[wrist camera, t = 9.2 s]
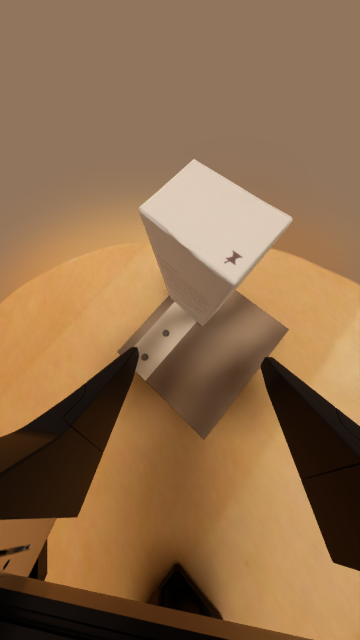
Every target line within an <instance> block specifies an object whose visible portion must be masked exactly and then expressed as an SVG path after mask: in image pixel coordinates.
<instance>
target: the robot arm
mask: <svg viewBox="0 0 360 640" xmlns="http://www.w3.org/2000/svg"><path fill="white" fill-rule="evenodd" d="M138 360H139V351H138V348H137V347H130V348H129V349H128V350H127V351H125V352H124V353H123V354H122V355H120V356H119V357H118V358H117V359H115V360H114V361H113V362H111V363H110V364H109V365H108V366H106V367H105V368H104V369H103V370H101V371H100V372H99V373H98V374H96V375H95V376H94V377H93V378H91V379H90V380H89V381H87V382H86V383H85V384H84V385H82V386H81V387H80V388H79V389H77V390H76V391H75V392H73V393H72V394H71V395H69V396H68V397H67V398H65V399H64V400H62V401H61V402H60V403H58V404H57V405H55V406H54V407H52V408H51V409H49V410H48V411H47V412H45V413H44V414H42V415H41V416H39V417H38V418H37V419H35V420H34V421H32V422H31V423H29V424H28V425H26V426H24V427H22V428H21V429H19V430H17V431H15V432H12V433H10V434H8V435H5V436H2V437H0V640H312V639H307V638H303V637H298V636H293V635H289V634H284V633H280V632H275V631H270V630H266V629H261V628H257V627H252V626H248V625H243V624H238V623H234V622H229V621H225V620H222V618H221V617H220V616H219V614H218V613H217V612H216V611H215V609H214V608H213V607H212V606H211V604H210V603H209V602H208V601H207V599H206V598H205V597H204V596H203V594H202V593H201V592H200V590H199V589H198V588H197V587H196V585H195V584H194V583H193V582H192V580H191V579H190V578H189V577H188V575H187V574H186V573H185V572H184V570H183V569H182V568H181V566H179V565H177V564H176V565H174V566H173V568H172V569H171V571H170V572H169V573H168V575H167V576H166V578H165V579H164V580H163V582H162V583H161V585H160V586H159V587H158V589H157V590H156V591H155V593H154V594H153V596H152V597H151V598H150V600H149V601H148V603H142V602H138V601H133V600H128V599H124V598H119V597H115V596H110V595H105V594H101V593H96V592H92V591H87V590H83V589H78V588H73V587H69V586H64V585H60V584H55V583H50V582H46V581H44V580H45V578H46V575H47V537H48V535H49V533H50V531H51V529H52V527H53V525H54V523H55V521H56V519H57V518H72V517H78V514H79V512H80V510H81V507H82V505H83V502H84V500H85V497H86V495H87V492H88V490H89V487H90V485H91V482H92V480H93V477H94V475H95V472H96V470H97V467H98V465H99V462H100V460H101V457H102V455H103V452H104V450H105V447H106V445H107V442H108V440H109V437H110V435H111V432H112V430H113V427H114V425H115V422H116V420H117V417H118V415H119V412H120V410H121V407H122V405H123V402H124V400H125V397H126V395H127V392H128V390H129V387H130V385H131V382H132V380H133V377H134V374H135V370H136V367H137V363H138ZM261 370H262V374H263V378H264V381H265V385H266V389H267V392H268V394H269V397H270V400H271V402H272V405H273V407H274V410H275V413H276V415H277V418H278V421H279V423H280V426H281V428H282V431H283V434H284V436H285V439H286V442H287V444H288V447H289V449H290V452H291V455H292V457H293V460H294V462H295V465H296V468H297V470H298V473H299V476H300V478H301V481H302V484H303V486H304V489H305V492H306V494H307V497H308V499H309V502H310V505H311V507H312V510H313V513H314V515H315V518H316V520H317V523H318V526H319V528H320V531H321V534H322V536H323V539H324V541H325V544H326V547H327V549H328V552H329V554H330V557H331V559H332V561H333V563H336V564H339V565H342V566H345V567H349V568H352V569H355V570H358V571H360V426H359V425H358V424H356V423H355V422H354V421H352V420H351V419H350V418H349V417H347V416H346V415H345V414H343V413H342V412H341V411H340V410H338V409H337V408H335V407H334V406H333V405H332V404H331V403H329V402H328V401H327V400H326V399H324V398H323V397H322V396H321V395H319V394H318V393H317V392H316V391H314V390H313V389H312V388H311V387H309V386H308V385H307V384H305V383H304V382H303V381H302V380H300V379H299V378H298V377H297V376H295V375H294V374H293V373H292V372H290V371H289V370H288V369H287V368H285V367H284V366H283V365H281V364H280V363H279V362H278V361H276V360H275V359H274V358H272V357H265V358H264V360H263V361H262V363H261Z"/></svg>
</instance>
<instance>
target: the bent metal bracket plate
mask: <svg viewBox="0 0 360 640" xmlns="http://www.w3.org/2000/svg"><path fill="white" fill-rule="evenodd" d="M288 330H289V329H288V328H286V327H285V326H284V325H282V324H281V323H280V322H278V321H277V320H275V319H274V318H273V317H271V316H270V315H269V314H267V313H266V312H265V311H263V310H262V309H261V308H259V307H258V306H256V305H255V304H254V303H252V302H251V301H250V300H248V299H247V298H246V297H244V296H243V295H242V294H240V293H239V292H238V291H236V290H235V291H234V292H233V293H232V295H231V296H230V297H229V298H228V299H227V301H226V302H225V303H224V304H223V305H222V306H221V308H220V309H219V310H218V311H217V312H216V313H215V314H214V315H213V316H212V318H211V319H210V320H209V321H208V322H207V323H206V324H205V325H204V326H201V325H200V324H199V323H198V322H197V321H196V320H195V319H194V318H192V317H191V316H190V315H189V314H188V313H187V312H186V311H185V310H184V309H182V308H181V307H180V306H179V305H178V304H177V303H176V302H175V301H173V300H172V299H171V298H170V295H169V296H168V297H167V298H166V300H165V301H164V302H163V303H162V304H161V305H160V306H159V307H158V308H157V309H156V310H155V312H154V313H153V314H152V315H151V316H150V317H149V318H148V319H147V320H146V321H145V322H144V324H143V325H142V326H141V327H140V328H139V329H138V330H137V331H136V332H135V333H134V334H133V336H132V337H131V338H130V339H129V340H128V341H127V342H126V343H125V344H124V345H123V346H122V348H121V349H120V350H119V351H118V353H119V354H120V355H122V354H123V353H124V352H125V351H127V350H128V349H129V348H130V347H137V348H138V351H139V360H138V363H137V367H136V370H135V371H136V372H137V373H138V374H139V375H140V376H141V377H142V378H143V379H144V380H145V381H146V382H147V383H148V384H149V385H150V386H151V387H152V388H153V389H154V390H155V391H156V392H157V393H158V394H159V395H160V396H161V397H162V398H163V399H164V400H165V401H166V402H167V403H168V404H169V405H170V406H171V407H172V408H173V409H174V410H175V411H176V412H177V413H178V414H179V415H180V416H181V417H182V418H183V419H184V420H185V421H186V422H187V423H188V424H189V425H190V426H191V427H192V428H193V429H194V430H195V431H196V432H197V433H198V434H199V435H200V436H201V437H202V438H203V439H205V438H206V437H207V435H208V434H209V433H210V431H211V430H212V429H213V428H214V426H215V425H216V424H217V422H218V421H219V420H220V418H221V417H222V416H223V415H224V413H225V412H226V411H227V409H228V408H229V407H230V405H231V404H232V403H233V402H234V400H235V399H236V398H237V396H238V395H239V394H240V392H241V391H242V390H243V389H244V387H245V386H246V385H247V383H248V382H249V381H250V379H251V378H252V377H253V376H254V374H255V373H256V372H257V370H258V369H259V368H260V366H261V363H262V361H263V360H264V358H265V357H268V356H269V355H270V353H271V352H272V351H273V350H274V348H275V347H276V346H277V344H278V343H279V342H280V340H281V339H282V338H283V337H284V335H285V334H286V333H287V331H288Z"/></svg>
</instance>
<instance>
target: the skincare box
mask: <svg viewBox="0 0 360 640" xmlns="http://www.w3.org/2000/svg"><path fill="white" fill-rule="evenodd" d="M139 213H140V216H141V218H142V221H143V223H144V226H145V229H146V232H147V235H148V237H149V240H150V243H151V246H152V248H153V251H154V254H155V257H156V259H157V262H158V265H159V268H160V270H161V273H162V276H163V279H164V281H165V284H166V287H167V289H168V292H169V295H170V298H171V299H172V300H173V301H175V302H176V303H177V304H178V305H179V306H180V307H181V308H182V309H184V310H185V311H186V312H187V313H188V314H189V315H190V316H191V317H192V318H194V319H195V320H196V321H197V322H198V323H199V324H200V325H201V326H204V325H205V324H206V323H207V322H208V321H209V320H210V319H211V318H212V316H213V315H214V314H215V313H216V312H217V311H218V310H219V309H220V308H221V306H222V305H223V304H224V303H225V302H226V301H227V299H228V298H229V297H230V296H231V295H232V293H233V292H234V291H235V290H236V289H237V287H238V286H239V285H240V284H241V283H242V282H243V280H244V279H245V278H246V277H247V276H248V274H249V273H250V272H251V271H252V270H253V268H254V267H255V266H256V265H257V264H258V262H259V261H260V260H261V259H262V258H263V256H264V255H265V254H266V253H267V252H268V250H269V249H270V248H271V247H272V246H273V244H274V243H275V242H276V241H277V240H278V239H279V237H280V236H281V235H282V234H283V233H284V231H285V230H286V229H287V228H288V226H289V225H290V224H291V222H292V217H291V216H289V215H287V214H285V213H283V212H282V211H280V210H278V209H276V208H275V207H273V206H271V205H269V204H267V203H266V202H264V201H262V200H261V199H259V198H257V197H256V196H254V195H252V194H250V193H249V192H247V191H246V190H244V189H242V188H241V187H239V186H238V185H236V184H234V183H232V182H231V181H229V180H228V179H226V178H224V177H223V176H221V175H219V174H218V173H216V172H214V171H212V170H211V169H209V168H208V167H206V166H205V165H203V164H201V163H199V162H198V161H197V160H194V159H193V160H192V161H191V162H190V163H189V164H188V165H187V166H185V167H184V168H183V169H182V170H181V171H180V172H179V173H178V174H177V175H176V176H174V177H173V178H172V179H171V180H170V181H169V182H168V183H167V184H165V185H164V186H163V187H162V188H161V189H160V190H159V191H158V192H156V193H155V194H154V195H153V196H152V197H151V198H149V199H148V200H147V201H146V202H145V203H144V204H143V205H141V206H140V207H139Z"/></svg>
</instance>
